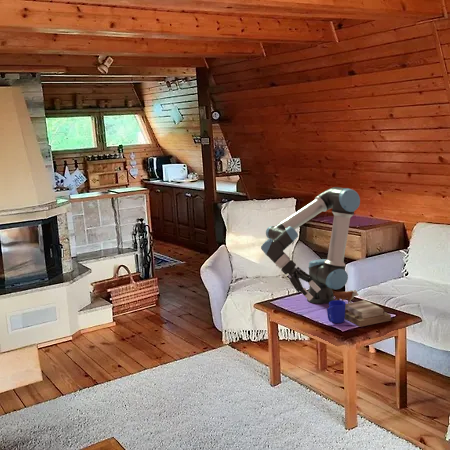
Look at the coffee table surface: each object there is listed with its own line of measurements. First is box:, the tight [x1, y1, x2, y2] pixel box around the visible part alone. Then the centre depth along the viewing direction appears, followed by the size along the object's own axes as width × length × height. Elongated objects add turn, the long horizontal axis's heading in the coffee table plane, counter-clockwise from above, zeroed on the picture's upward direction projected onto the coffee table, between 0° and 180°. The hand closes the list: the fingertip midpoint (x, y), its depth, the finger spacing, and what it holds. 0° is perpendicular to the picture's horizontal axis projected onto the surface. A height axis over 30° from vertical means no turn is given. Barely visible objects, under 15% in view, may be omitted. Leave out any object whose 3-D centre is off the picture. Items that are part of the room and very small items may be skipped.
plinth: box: [345, 299, 392, 328], centre depth 287 cm, size 20×18×6 cm
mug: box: [326, 299, 347, 324], centre depth 282 cm, size 8×12×10 cm
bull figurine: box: [333, 289, 359, 304], centre depth 309 cm, size 4×13×8 cm, turn 78°
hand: (315, 295), depth 284 cm, fingers open, 13 cm apart
